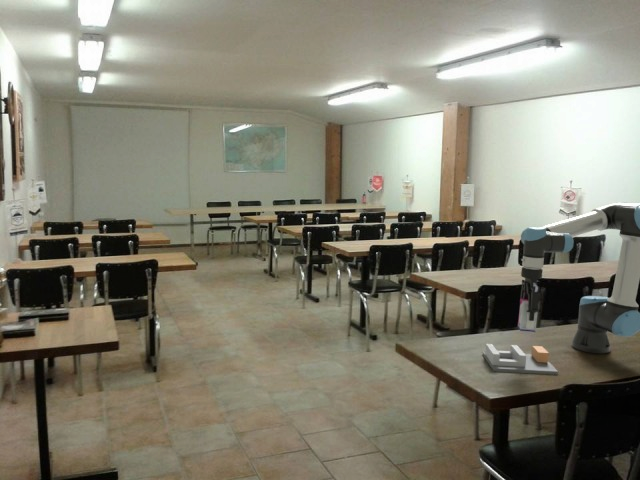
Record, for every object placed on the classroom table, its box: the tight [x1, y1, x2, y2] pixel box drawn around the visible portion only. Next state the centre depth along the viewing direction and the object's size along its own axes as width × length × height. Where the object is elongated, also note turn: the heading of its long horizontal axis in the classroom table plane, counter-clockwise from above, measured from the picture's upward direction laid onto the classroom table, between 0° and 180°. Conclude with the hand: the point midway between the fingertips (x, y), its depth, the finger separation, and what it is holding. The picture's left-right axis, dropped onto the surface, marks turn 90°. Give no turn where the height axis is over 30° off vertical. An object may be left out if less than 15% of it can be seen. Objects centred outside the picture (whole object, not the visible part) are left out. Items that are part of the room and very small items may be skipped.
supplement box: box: [517, 299, 540, 333], centre depth 211 cm, size 6×6×12 cm
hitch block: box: [482, 343, 559, 375], centre depth 216 cm, size 24×19×6 cm
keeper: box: [530, 345, 550, 363], centre depth 218 cm, size 4×8×4 cm, turn 176°
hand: (526, 325), depth 212 cm, fingers closed on supplement box, 6 cm apart
